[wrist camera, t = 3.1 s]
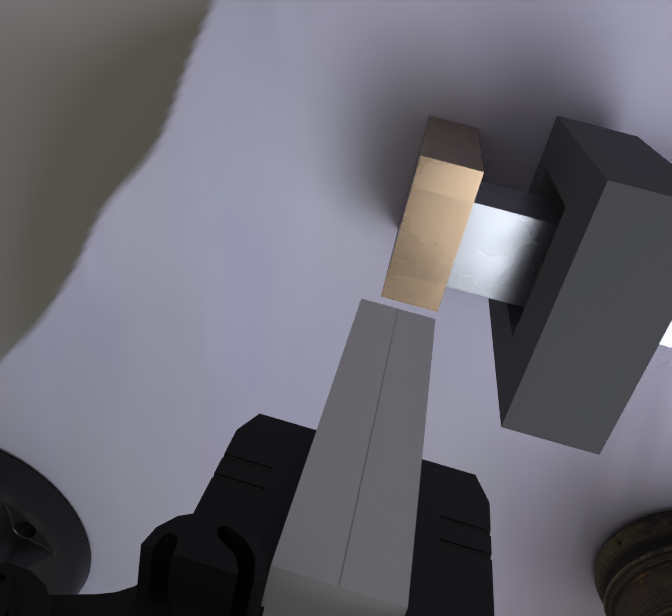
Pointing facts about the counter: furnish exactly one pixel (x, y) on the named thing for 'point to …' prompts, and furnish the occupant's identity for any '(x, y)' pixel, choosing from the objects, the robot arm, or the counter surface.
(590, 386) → the collar
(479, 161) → the bar
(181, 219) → the counter surface
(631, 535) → the container
